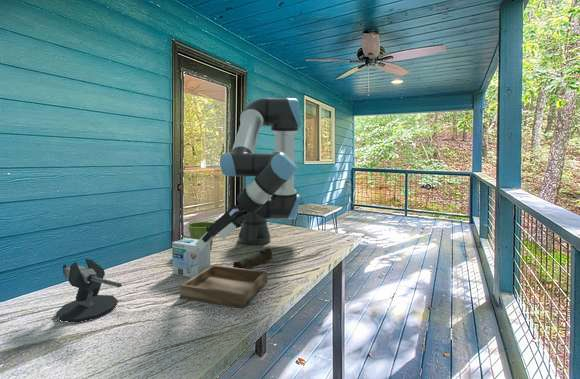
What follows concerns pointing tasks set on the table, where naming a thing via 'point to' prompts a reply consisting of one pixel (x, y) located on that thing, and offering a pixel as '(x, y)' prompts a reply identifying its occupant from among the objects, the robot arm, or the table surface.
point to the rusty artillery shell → (254, 259)
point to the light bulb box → (189, 257)
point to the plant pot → (199, 230)
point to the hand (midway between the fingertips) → (210, 241)
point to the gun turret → (87, 293)
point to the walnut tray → (224, 286)
